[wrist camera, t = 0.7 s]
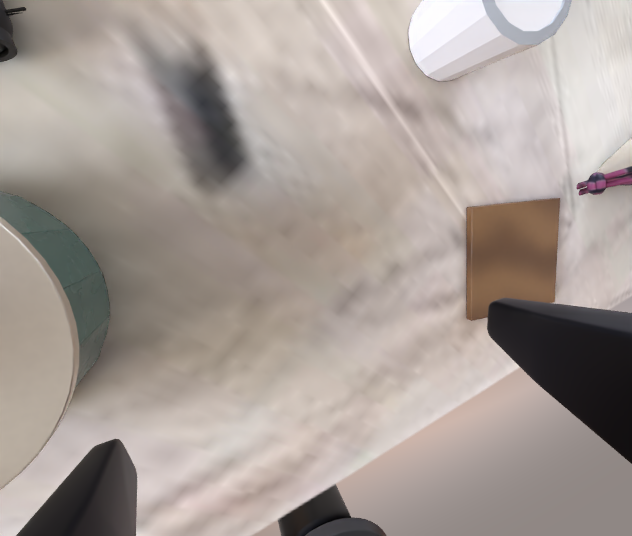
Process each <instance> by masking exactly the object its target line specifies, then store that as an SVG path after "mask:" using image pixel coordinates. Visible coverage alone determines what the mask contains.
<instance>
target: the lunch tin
mask: <svg viewBox="0 0 632 536" xmlns="http://www.w3.org/2000/svg"><path fill="white" fill-rule="evenodd" d="M0 217H1V218H3V219H4V220H6V221H7V222H8V223H9V224H10V225H11V226H12V227H14V228H15V229H16V230H17V231H18V232H19V233H20V234H22V235H23V236H24V237H25V238H26V239H27V240H28V241H29V242H30V243H31V244H32V246H33V247H34V248H35V249H36V250H37V251H38V252H39V253H40V255H41V256H42V257H43V258H44V259H45V260H46V262H47V263H48V265H49V266H50V268H51V269H52V271H53V272H54V274H55V275H56V277H57V278H58V280H59V281H60V283H61V285H62V288H63V290H64V292H65V294H66V296H67V298H68V300H69V302H70V305H71V308H72V311H73V315H74V318H75V321H76V326H77V332H78V339H79V369H78V375H77V381H76V386H77V385H78V384H79V382H80V381H81V380H82V378H83V377H84V376H85V375H86V373H87V372H88V371H89V369H90V368H91V367H92V366H93V364H94V363H95V362H96V360H97V359H98V357H99V355H100V352H101V348H102V346H103V343H104V340H105V337H106V334H107V329H108V323H109V317H110V315H109V314H110V312H109V298H108V291H107V287H106V284H105V280H104V277H103V275H102V273H101V270H100V268H99V266H98V264H97V262H96V260H95V259H94V257H93V256H92V254H91V253H90V251H89V249H88V248H87V247H86V246H85V245H84V243H83V242H82V241H81V240H80V239H79V237H78V236H77V235H76V234H75V233H73V232H72V230H70V229H69V228H68V227H67V226H66V225H65V224H64V223H62V222H61V221H60V220H58V219H57V218H55V217H54V216H53V215H51V214H50V213H48V212H47V211H45V210H43V209H41V208H40V207H38V206H36V205H34V204H33V203H30V202H28V201H26V200H25V199H23V198H22V197H19V196H16V195H13V194H9V193H5V192H2V191H0ZM76 386H75V387H76Z"/></svg>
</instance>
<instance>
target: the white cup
mask: <svg viewBox="0 0 632 536" xmlns="http://www.w3.org/2000/svg"><path fill="white" fill-rule="evenodd" d="M571 1H572V0H423V1H422V2H421V3H420V5H419V6H418V8H417V9H416V11H415V12H414V14H413V15H412V19H411V23H410V27H409V31H408V32H409V45H410V50H411V53H412V55H413V58H414V60H415V63H416V65H417V66H418V67H419V68H420V69H421V70H422V71H423V73H424V74H425V75H426V76H428V77H430V78H432V79H435V80H437V81H451V80H453V79H456V78H458V77H461V76H463V75H465V74H468V73H470V72H473V71H475V70H478V69H480V68H482V67H485V66H487V65H490V64H492V63H495V62H497V61H500V60H502V59H504V58H507V57H509V56H512V55H514V54H517V53H519V52H521V51H524V50H526V49H529V48H531V47H534V46H536V45H538V44H540V43H542V42H543V41H545V40H546V39H548V38H550V37H551V36H553V35H554V34H555V33H556V32H557V30H558V29H559V27H560V26H561V24H562V23H563V21H564V20H565V18H566V17H567V15H568V11H569V8H570V4H571Z"/></svg>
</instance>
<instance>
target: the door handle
mask: <svg viewBox="0 0 632 536" xmlns="http://www.w3.org/2000/svg"><path fill="white" fill-rule="evenodd" d="M25 10H26V8H25V7H22V8H15V9H8V10H6V8H5V6H4V4H3V1H2V0H0V62H2V61H6V60H9V59H11V58H13V57H15V56H16V54H17V49H16V47H15V44H14V42H13V40H12V36H13V28H12V23H11V20H10V18H9V16H10V15H14V14H19V13H12V12H19V11H25ZM8 13H11V14H8ZM22 13H23V12H22Z"/></svg>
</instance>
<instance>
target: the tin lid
mask: <svg viewBox="0 0 632 536" xmlns="http://www.w3.org/2000/svg"><path fill="white" fill-rule="evenodd" d="M78 369H79V339H78V332H77V326H76V321H75V318H74V315H73V311H72V308H71V305H70V302H69V300H68V298H67V296H66V294H65V292H64V290H63V288H62V285H61V283H60V281H59V280H58V278H57V277H56V275H55V274H54V272H53V271H52V269H51V268H50V266H49V265H48V263H47V262H46V260H45V259H44V258H43V257H42V256H41V255H40V253H39V252H38V251H37V250H36V249H35V248H34V247H33V246H32V244H31V243H30V242H29V241H28V240H27V239H26V238H25V237H24V236H23V235H22V234H20V233H19V232H18V231H17V230H16V229H15V228H14V227H12V226H11V225H10V224H9V223H8V222H7V221H6V220H4V219H3V218H1V217H0V490H1V489H2V488H4V487H5V486H6V485H7V484H8V483H9V482H11V481H12V480H13V479H14V478H15V477H16V476H18V475H19V474H20V473H21V472H22V471H23V470H24V469H25V468H26V467H27V466H28V465H29V464H30V463H31V462H32V461H33V460H34V458H35V457H36V456H37V455H38V454H39V453H40V452H41V450H42V449H43V448H44V446H45V445H46V443H47V442H48V441H49V439H50V438H51V436H52V435H53V433H54V432H55V431H56V429H57V428H58V426H59V424H60V422H61V420H62V419H63V417H64V415H65V413H66V411H67V409H68V407H69V404H70V401H71V398H72V395H73V392H74V389H75V386H76V381H77V375H78Z"/></svg>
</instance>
